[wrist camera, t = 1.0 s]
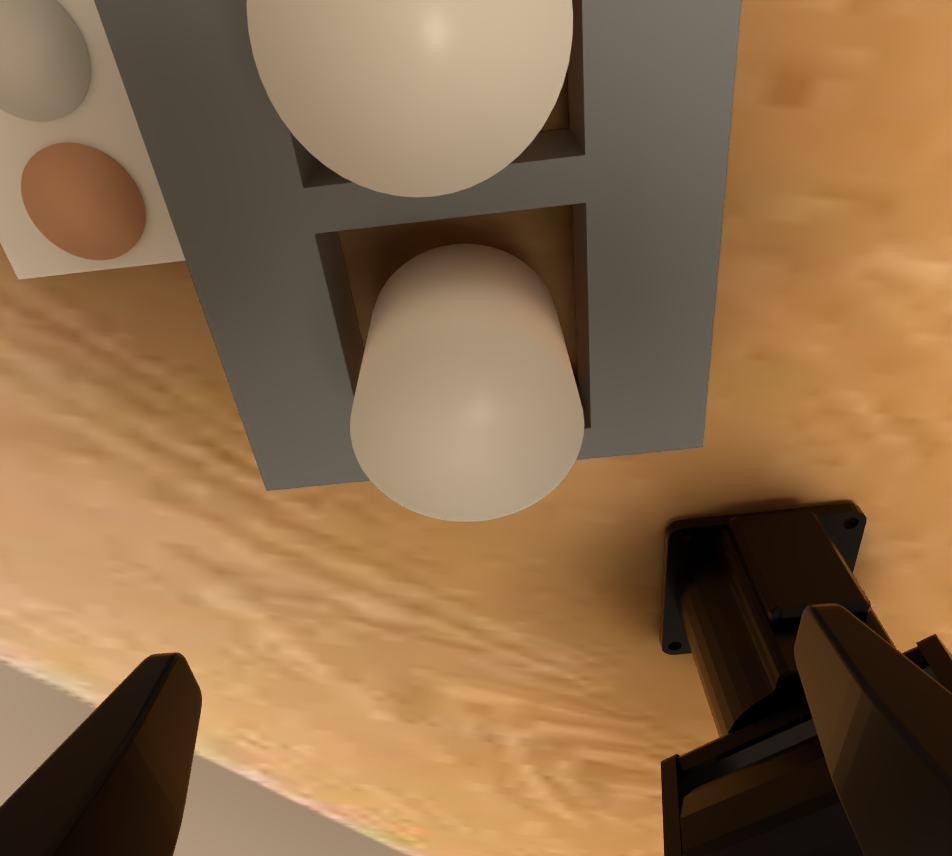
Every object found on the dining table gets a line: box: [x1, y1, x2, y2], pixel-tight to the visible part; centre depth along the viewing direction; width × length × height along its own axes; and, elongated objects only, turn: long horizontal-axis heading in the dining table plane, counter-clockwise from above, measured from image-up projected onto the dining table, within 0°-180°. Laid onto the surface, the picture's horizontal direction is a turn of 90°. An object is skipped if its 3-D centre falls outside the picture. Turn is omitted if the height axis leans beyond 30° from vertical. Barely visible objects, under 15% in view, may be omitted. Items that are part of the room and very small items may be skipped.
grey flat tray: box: [94, 0, 742, 491], centre depth 15 cm, size 22×12×2 cm, turn 6°
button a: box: [350, 244, 584, 522], centre depth 16 cm, size 5×5×4 cm
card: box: [0, 0, 186, 280], centre depth 16 cm, size 10×5×1 cm, turn 6°
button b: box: [247, 0, 573, 197], centre depth 12 cm, size 5×5×4 cm
